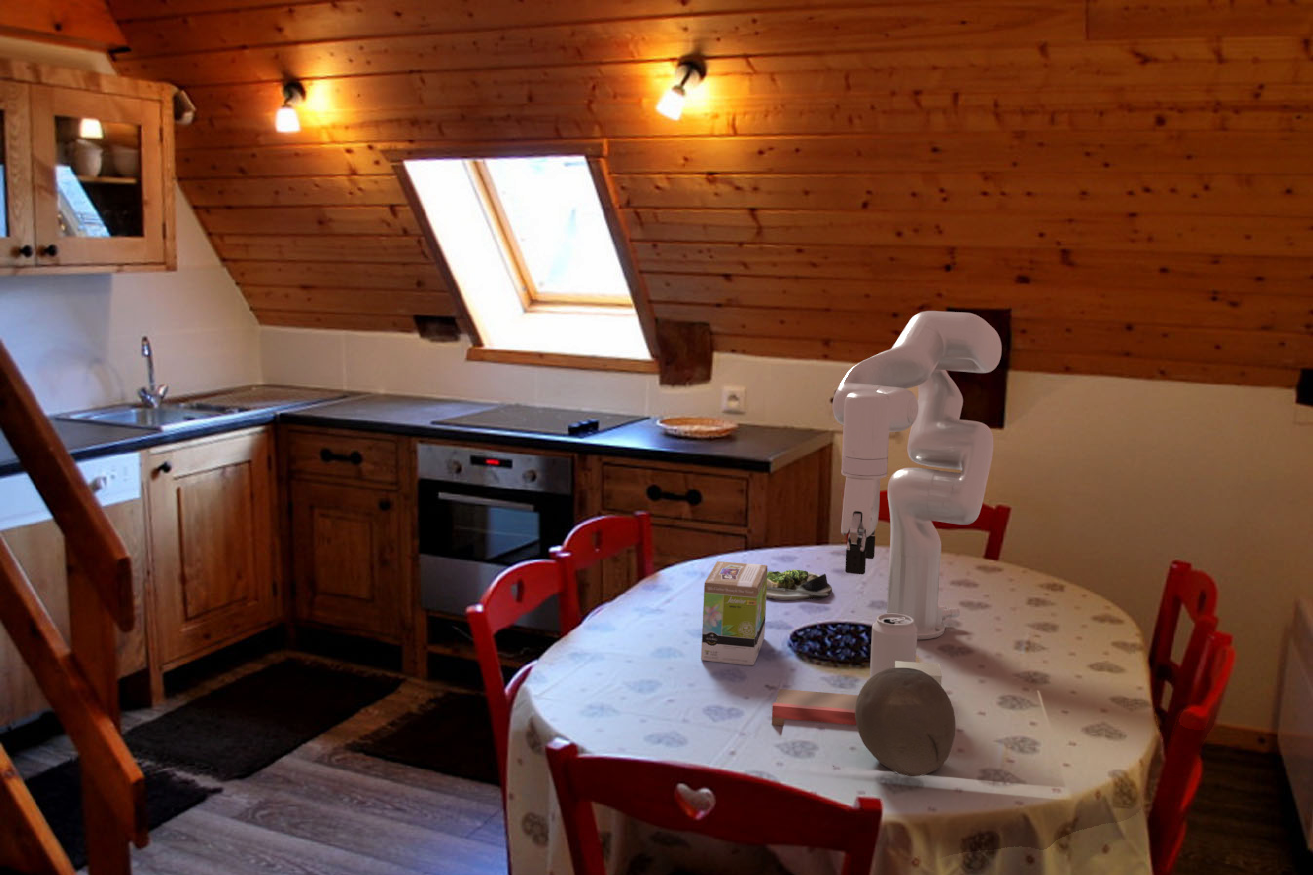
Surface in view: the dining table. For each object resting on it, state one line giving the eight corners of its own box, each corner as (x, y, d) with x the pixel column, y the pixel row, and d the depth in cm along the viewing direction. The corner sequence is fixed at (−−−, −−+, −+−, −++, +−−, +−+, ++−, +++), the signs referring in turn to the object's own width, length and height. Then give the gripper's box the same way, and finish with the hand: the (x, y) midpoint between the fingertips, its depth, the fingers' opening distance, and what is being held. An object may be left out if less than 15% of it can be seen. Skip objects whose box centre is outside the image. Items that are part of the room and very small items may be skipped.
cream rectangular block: (937, 712, 193) (940, 664, 192) (938, 725, 188) (941, 676, 187) (892, 708, 195) (895, 660, 193) (892, 721, 190) (895, 672, 188)
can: (864, 677, 211) (867, 611, 209) (907, 676, 211) (910, 610, 209) (875, 694, 203) (879, 625, 201) (919, 693, 204) (923, 624, 202)
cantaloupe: (952, 755, 181) (957, 659, 178) (952, 799, 167) (959, 695, 165) (855, 745, 184) (860, 650, 181) (848, 787, 170) (853, 685, 168)
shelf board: (939, 709, 198) (940, 690, 197) (942, 739, 186) (943, 720, 185) (778, 695, 202) (779, 677, 202) (771, 724, 191) (772, 705, 190)
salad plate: (749, 606, 249) (749, 584, 248) (730, 580, 266) (730, 560, 266) (840, 603, 252) (841, 581, 251) (815, 577, 270) (816, 557, 269)
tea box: (756, 666, 215) (758, 586, 213) (699, 662, 217) (701, 582, 215) (765, 638, 230) (768, 562, 227) (713, 634, 232) (714, 558, 229)
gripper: (850, 455, 212) (846, 550, 215) (832, 474, 196) (828, 577, 199) (894, 458, 210) (889, 554, 213) (879, 478, 194) (874, 582, 197)
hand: (860, 565), depth 206 cm, fingers open, 9 cm apart
